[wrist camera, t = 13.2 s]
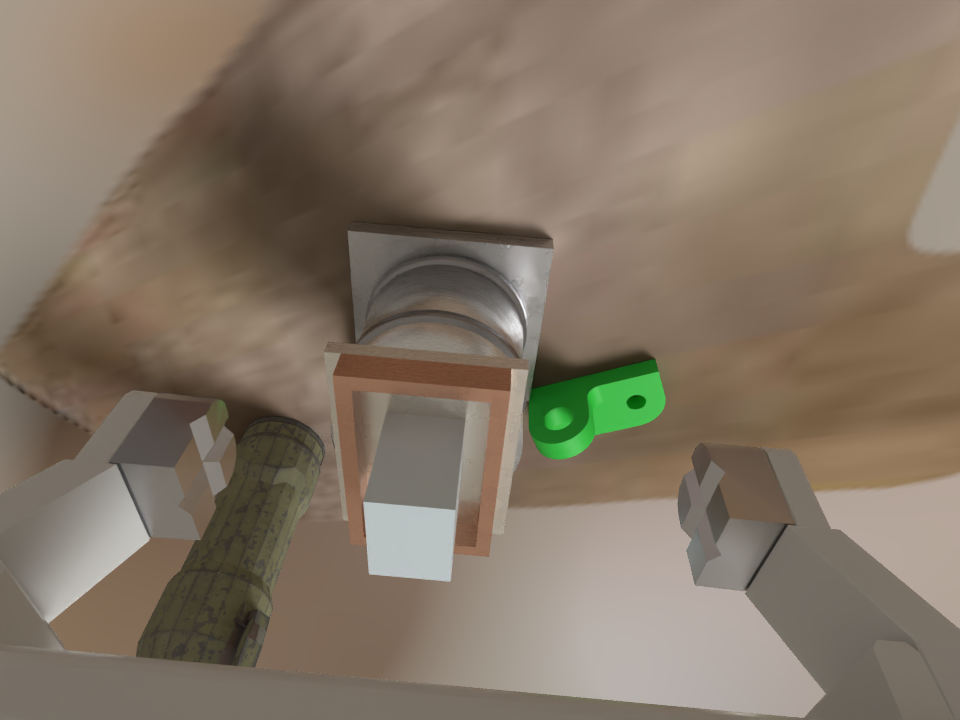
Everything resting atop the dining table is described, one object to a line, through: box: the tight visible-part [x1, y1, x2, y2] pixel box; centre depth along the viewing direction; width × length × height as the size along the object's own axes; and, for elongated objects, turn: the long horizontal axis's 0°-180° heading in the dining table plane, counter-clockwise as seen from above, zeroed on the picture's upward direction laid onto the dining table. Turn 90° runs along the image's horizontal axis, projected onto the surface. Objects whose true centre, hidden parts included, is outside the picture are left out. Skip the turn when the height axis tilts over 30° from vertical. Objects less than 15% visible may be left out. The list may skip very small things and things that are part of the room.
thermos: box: [136, 416, 325, 668], centre depth 52 cm, size 9×12×35 cm
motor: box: [324, 222, 554, 557], centre depth 47 cm, size 16×16×19 cm
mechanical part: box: [529, 359, 665, 459], centre depth 56 cm, size 12×6×8 cm, turn 111°
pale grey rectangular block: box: [363, 413, 465, 581], centre depth 39 cm, size 5×9×7 cm, turn 176°
